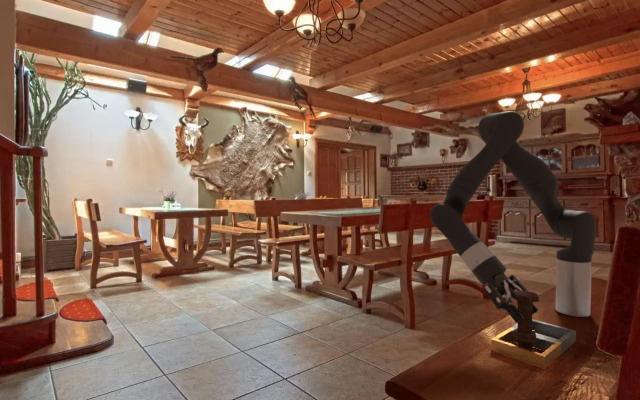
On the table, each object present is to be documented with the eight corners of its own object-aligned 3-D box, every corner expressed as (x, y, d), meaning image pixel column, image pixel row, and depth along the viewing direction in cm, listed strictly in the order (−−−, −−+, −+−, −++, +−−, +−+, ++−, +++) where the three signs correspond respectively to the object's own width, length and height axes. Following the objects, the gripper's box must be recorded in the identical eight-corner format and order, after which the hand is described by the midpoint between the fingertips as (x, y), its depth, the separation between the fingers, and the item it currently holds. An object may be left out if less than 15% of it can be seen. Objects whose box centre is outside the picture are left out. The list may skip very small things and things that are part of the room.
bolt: (540, 359, 85) (541, 297, 84) (517, 357, 86) (518, 296, 85) (531, 348, 90) (531, 290, 90) (509, 346, 91) (510, 289, 91)
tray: (526, 328, 103) (526, 317, 103) (575, 341, 94) (575, 330, 94) (491, 350, 89) (491, 339, 89) (544, 369, 80) (544, 356, 80)
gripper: (479, 258, 89) (528, 316, 81) (504, 251, 98) (551, 302, 90) (459, 275, 93) (504, 331, 85) (485, 267, 102) (528, 317, 94)
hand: (528, 316), depth 87 cm, fingers open, 8 cm apart
